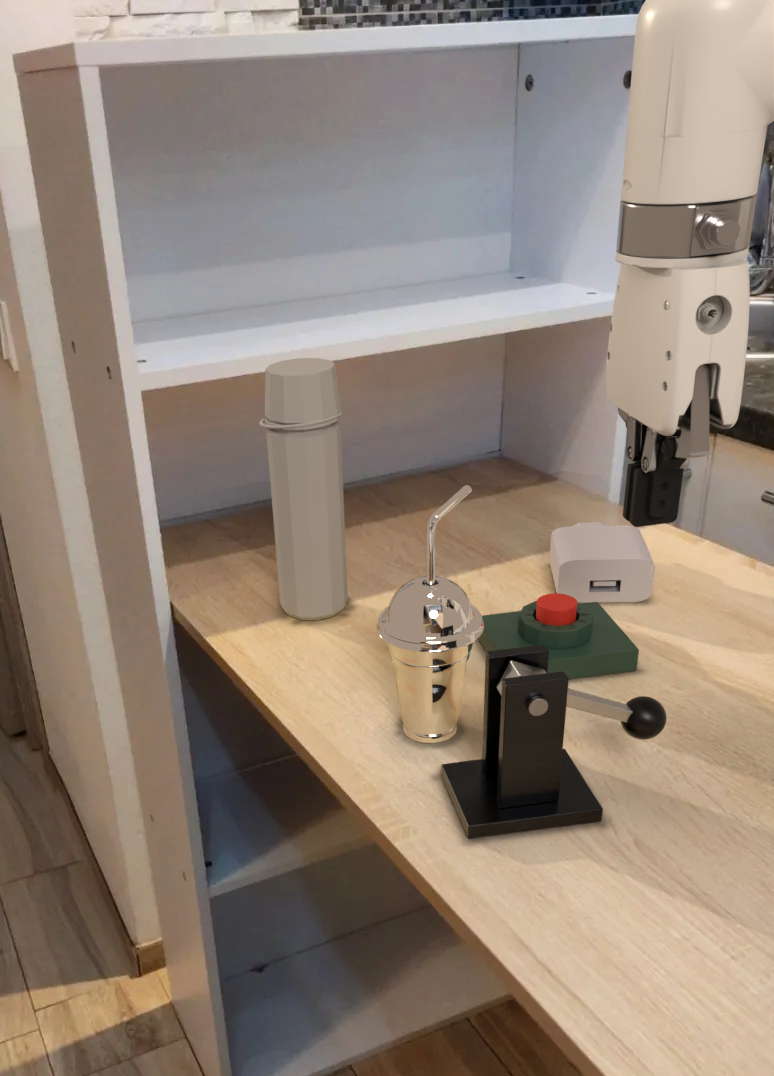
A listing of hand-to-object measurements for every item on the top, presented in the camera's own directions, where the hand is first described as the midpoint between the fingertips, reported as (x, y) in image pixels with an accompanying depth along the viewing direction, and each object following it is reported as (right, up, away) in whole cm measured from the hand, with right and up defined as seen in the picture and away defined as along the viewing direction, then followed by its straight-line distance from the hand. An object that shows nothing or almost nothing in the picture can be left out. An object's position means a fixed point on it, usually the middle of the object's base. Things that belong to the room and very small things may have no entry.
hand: (649, 520), depth 71 cm
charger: (+9, +2, +40) cm, 41 cm away
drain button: (0, -5, +24) cm, 24 cm away
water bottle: (-22, -2, +38) cm, 44 cm away
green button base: (0, -8, +26) cm, 27 cm away
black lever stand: (-7, -20, +7) cm, 22 cm away
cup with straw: (-12, -15, +17) cm, 26 cm away
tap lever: (-4, -14, +4) cm, 15 cm away
